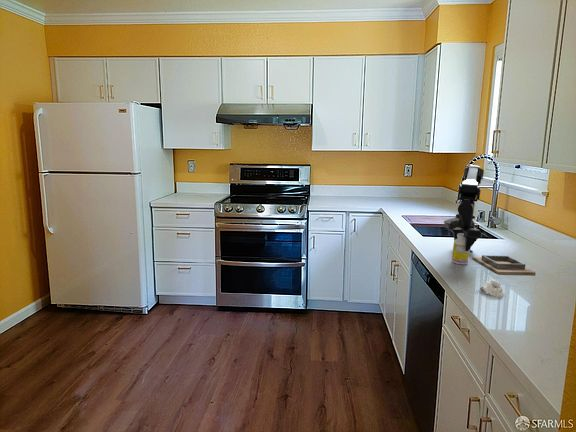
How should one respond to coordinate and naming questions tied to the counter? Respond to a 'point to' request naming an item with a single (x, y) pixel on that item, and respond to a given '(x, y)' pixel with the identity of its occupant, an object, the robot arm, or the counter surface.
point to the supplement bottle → (460, 251)
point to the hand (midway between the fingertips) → (461, 247)
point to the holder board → (503, 265)
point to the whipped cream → (493, 288)
